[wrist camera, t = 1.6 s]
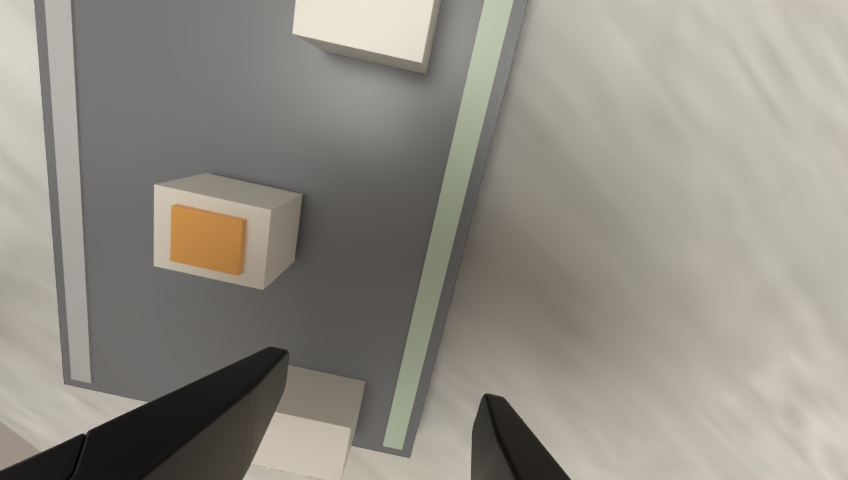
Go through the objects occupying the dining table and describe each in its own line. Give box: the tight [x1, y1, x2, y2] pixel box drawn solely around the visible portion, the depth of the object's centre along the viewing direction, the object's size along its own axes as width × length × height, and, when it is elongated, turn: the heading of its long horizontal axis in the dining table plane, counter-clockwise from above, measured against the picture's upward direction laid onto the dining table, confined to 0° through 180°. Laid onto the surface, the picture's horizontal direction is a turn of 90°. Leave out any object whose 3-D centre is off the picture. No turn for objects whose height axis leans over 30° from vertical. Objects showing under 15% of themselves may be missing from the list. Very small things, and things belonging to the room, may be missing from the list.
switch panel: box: [34, 0, 528, 480], centre depth 16 cm, size 18×22×5 cm
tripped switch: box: [154, 173, 303, 290], centre depth 15 cm, size 4×3×3 cm
